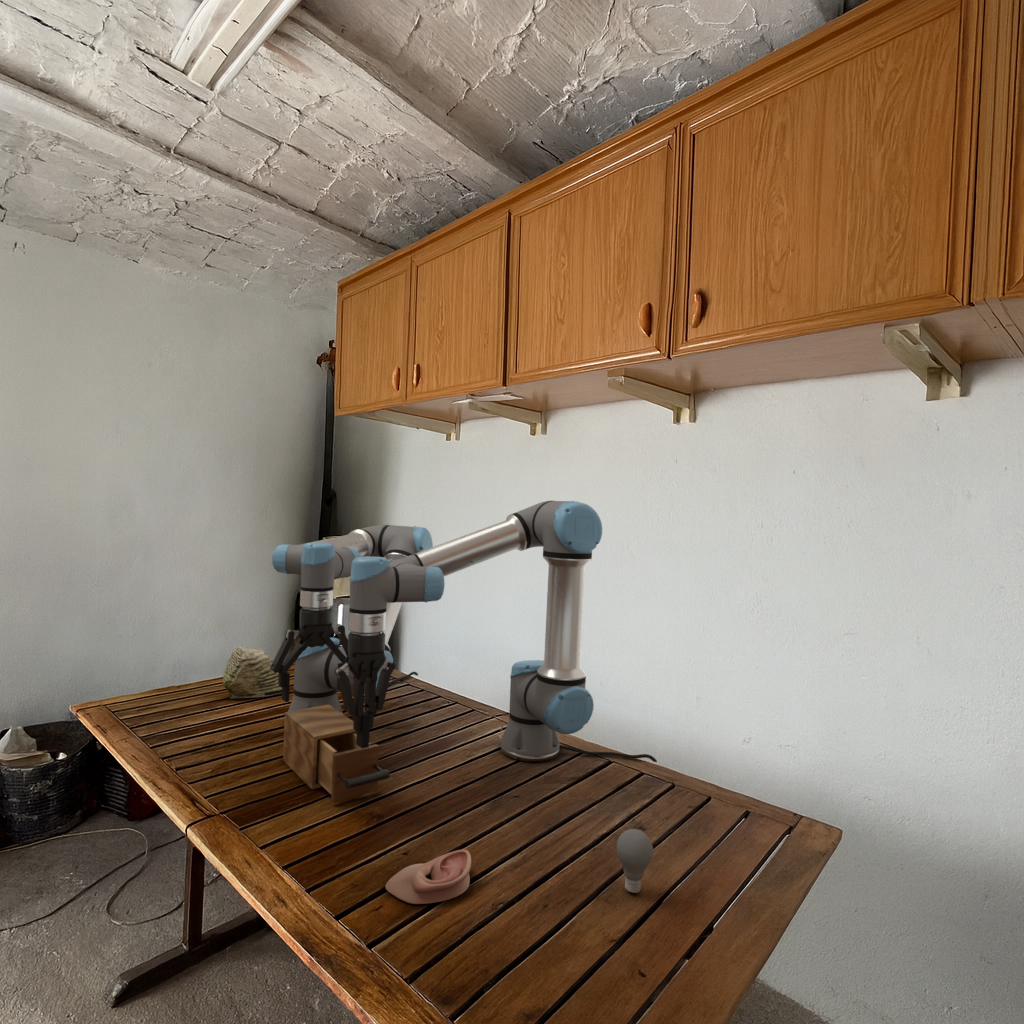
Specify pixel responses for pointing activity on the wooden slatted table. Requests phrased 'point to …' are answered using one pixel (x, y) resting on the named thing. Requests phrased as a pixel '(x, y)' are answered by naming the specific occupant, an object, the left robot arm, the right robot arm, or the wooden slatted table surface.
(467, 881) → the anatomical model
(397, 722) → the wooden slatted table surface
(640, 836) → the light bulb
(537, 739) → the right robot arm
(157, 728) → the wooden slatted table surface
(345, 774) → the drawer
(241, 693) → the fossil
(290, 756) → the cabinet
